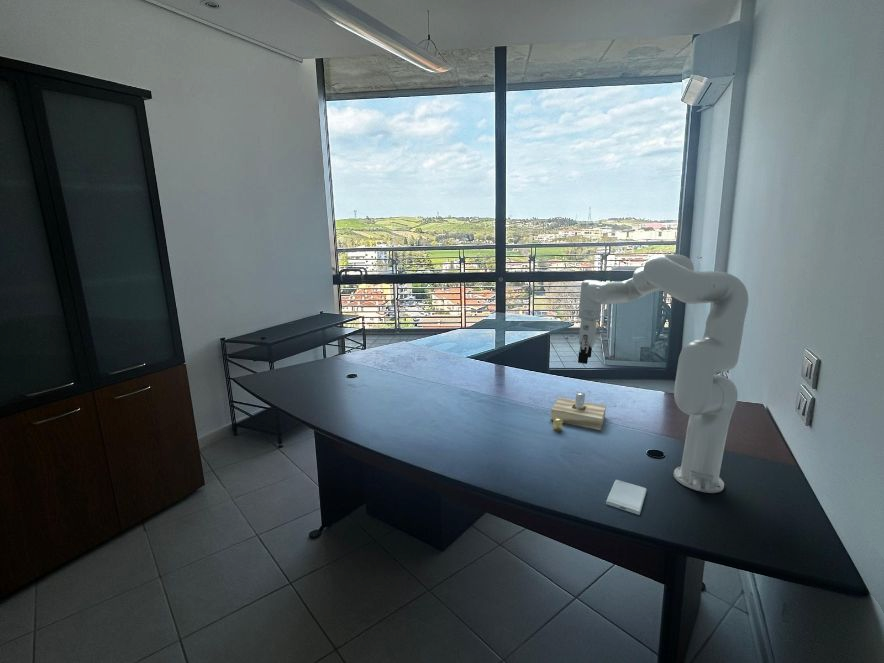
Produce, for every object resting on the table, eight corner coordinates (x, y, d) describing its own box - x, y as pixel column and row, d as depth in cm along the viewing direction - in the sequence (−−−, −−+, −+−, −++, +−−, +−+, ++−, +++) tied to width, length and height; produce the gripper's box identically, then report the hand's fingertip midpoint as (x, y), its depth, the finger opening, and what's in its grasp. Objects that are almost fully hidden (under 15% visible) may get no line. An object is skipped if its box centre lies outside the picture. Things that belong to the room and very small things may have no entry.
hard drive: (615, 479, 124) (606, 500, 114) (647, 488, 120) (640, 511, 110) (614, 484, 125) (605, 505, 114) (646, 493, 121) (639, 517, 110)
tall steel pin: (581, 420, 166) (584, 395, 164) (573, 419, 167) (575, 394, 165) (583, 417, 169) (585, 393, 166) (574, 416, 170) (576, 391, 168)
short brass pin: (561, 432, 156) (562, 421, 155) (551, 430, 157) (552, 419, 156) (562, 428, 158) (563, 418, 157) (553, 426, 160) (554, 416, 159)
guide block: (600, 430, 158) (602, 418, 157) (550, 420, 165) (551, 408, 164) (604, 416, 170) (606, 405, 169) (557, 407, 178) (558, 397, 177)
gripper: (597, 319, 150) (592, 367, 154) (602, 312, 165) (597, 356, 169) (574, 317, 153) (570, 364, 157) (582, 310, 168) (577, 353, 172)
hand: (584, 359), depth 163 cm, fingers open, 9 cm apart
